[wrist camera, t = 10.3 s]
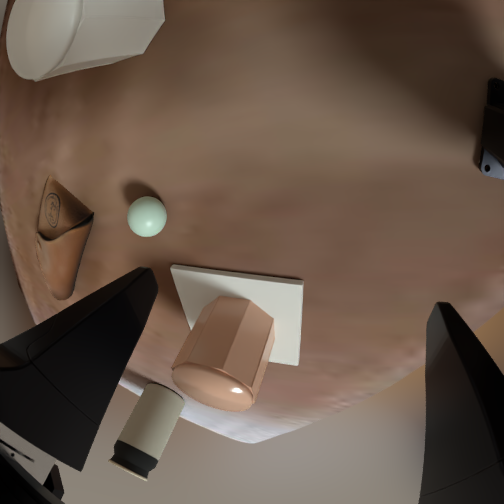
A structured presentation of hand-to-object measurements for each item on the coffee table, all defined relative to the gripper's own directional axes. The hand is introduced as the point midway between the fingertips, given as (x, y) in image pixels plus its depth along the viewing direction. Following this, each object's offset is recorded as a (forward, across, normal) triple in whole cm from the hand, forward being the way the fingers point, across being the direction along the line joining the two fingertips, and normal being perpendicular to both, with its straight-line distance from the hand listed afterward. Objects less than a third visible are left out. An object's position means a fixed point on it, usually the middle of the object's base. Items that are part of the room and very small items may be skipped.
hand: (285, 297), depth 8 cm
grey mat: (+12, +7, +16) cm, 21 cm away
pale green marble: (+12, +13, +4) cm, 18 cm away
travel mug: (+12, +25, +43) cm, 51 cm away
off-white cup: (+12, +13, -12) cm, 21 cm away
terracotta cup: (+11, +7, +16) cm, 21 cm away
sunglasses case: (+13, +30, +9) cm, 34 cm away
